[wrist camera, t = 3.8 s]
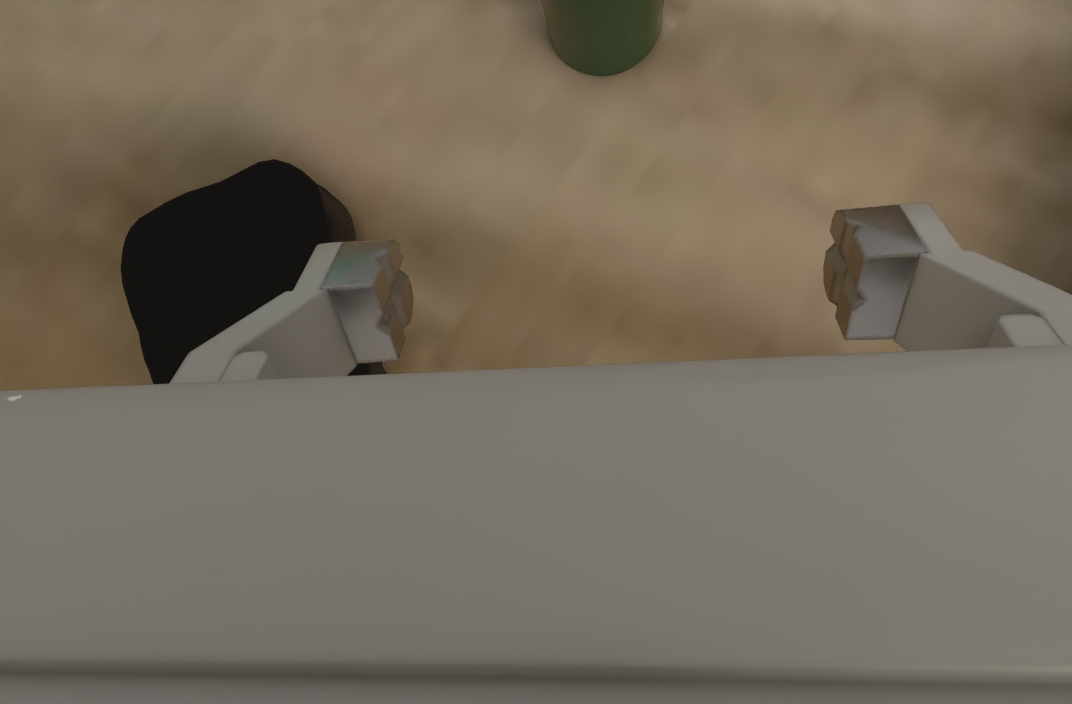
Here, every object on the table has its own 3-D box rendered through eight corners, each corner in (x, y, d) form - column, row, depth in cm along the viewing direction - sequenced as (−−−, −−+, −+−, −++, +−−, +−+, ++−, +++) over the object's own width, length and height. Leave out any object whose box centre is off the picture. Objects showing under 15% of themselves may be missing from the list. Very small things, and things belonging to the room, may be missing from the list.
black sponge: (166, 241, 30) (103, 223, 26) (346, 177, 29) (306, 148, 26) (266, 613, 29) (215, 647, 25) (458, 558, 28) (433, 585, 24)
